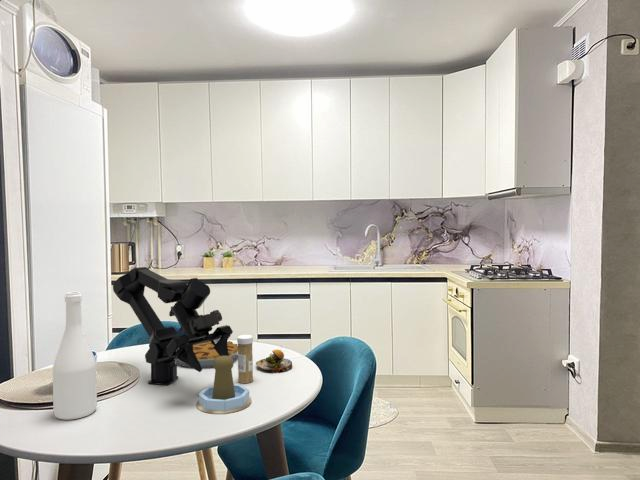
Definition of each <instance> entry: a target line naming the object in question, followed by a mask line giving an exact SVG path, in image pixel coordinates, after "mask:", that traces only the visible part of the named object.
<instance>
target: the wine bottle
mask: <svg viewBox="0 0 640 480" xmlns="http://www.w3.org/2000/svg"><path fill="white" fill-rule="evenodd" d="M82 297H83V296H82V294H81V291H68V292H65V294H64V303H65V328H64V333H63V335H62V339H61V341H60V345H59V348H58V350H57V353H56V356H55V358H54V362H53V366H52V401H53V403H52V404H53V405H52V406H53V409H52V410H53V415H54V417H55V418H56V419H59V420H65V421H66V420H67V421H69V420H71V421H72V420H78V419H81V418H84V417H87V416H90V415H91V414H93V413H94V412H95V411H96V409H97V407H98V399H97V398H98V391H97V389H98V386H97V385H98V383H97V382H98V381H97V380H98V379H97V361H96V358H95V355H94V353H93V351H92V348H91V346H90V343H89V341H88V339H87V335H86V333H85V330H84V327H83V323H82V305H81V304H82V303H81V302H82V301H83V300H82Z"/></svg>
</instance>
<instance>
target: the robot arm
mask: <svg viewBox="0 0 640 480" xmlns="http://www.w3.org/2000/svg"><path fill="white" fill-rule="evenodd" d="M146 287H147V288H148V289H151V290H152V291H153V292H155V293H156V294H157V298H158V299H159V300H160V301H161V302H163V303H164V304H172V303H174V304H173V305H172V306H170V311H169V313H168V316H169V317H175V318H176V320H177V322H178V324H179V326H180V328H179V329H178V331H179V333H183V335H180V334H178V333H177V330H176V329H175V327H173V326H170V327H165V325H164V324H163V322H162V321H161V320H160V318H159V316H158V314H157V313H156V312H155V310H154V309H153V307H152V306H151V303H149V300H147V298H146V297H145V290H146V289H145V288H146ZM112 290H113V293H114V294H115V296H116V297H117V298H118V299H119V300H120V301H121V302H124V303H126V304H128V305H129V306H130V308H131V309H132V311H133V313H134V314H135V316H136V317H137V319H138V321H139V322H140V324H141V325H142V327H143V329H144V330H145V331H146V334H147V335H148V337H149V343H148V344H149V345H148V347H149V348H148V350H147V352H146V353H145V354H144V359H145V362H146V363H147V364H150V380H149V381H148V382H147V383H148V384H149V385H150V384H152V385H165V386H167V385H170V384H171V383H173V382H175V381H176V380H177V379H179V376H178V364H176V360H178V359H179V360H181V361H183V362H185V363H186V364H188V365H189V366H191V367H190V368H191V369H194V370H195V371H197V372H198V373H201V372H203V368H201V365H200V363H199V361H198V359H197V357H196V355H195V353H194V351H193V345H197V344H201V343H205V342H208V341H211V343H212V344H213V345H215V346H214V347H213V348H214V349H215V350H216V352H217V353H218V354H219V355H220V356H229V354H228V347H227V342H228V341H229V338H231V336H232V334H233V333H234V331H233V329H232V327H231V326H230V325H227V324H226V325H221V326H218V325H220V322H221V321H222V320H223V316H222V313H221V312H220V311H219V309H216V310H215V309H214V310H213V311H210V312H209V313H206V314H199V312H198V311H197V310H198V309H200V308H201V307H202V305H203V304H204V303H205V302H206V300H207V298H209V296H210V294H211V288H210V287H209V285H208V284H206V283H205V282H204V281H201V280H199V279H198V278H197V277H193V278H190V279H189V281H188V283H187V282H185V281H183V280H178V279H168V278H166V277H165V276H162V275H160V274H158V273H157V272H154V271H153V270H150V269H149V267H146V266H142V267H134V268H131V269H130V270H129V272H127V273H124V274H123V275H121V276H119V277H118V278H117V279H116V280H115V282H113V284H112ZM216 325H217V327H216V328H215V330H214V331H213V332H211V331H212V330H213V327H214V326H216ZM210 332H211V333H210Z"/></svg>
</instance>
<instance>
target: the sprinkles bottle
mask: <svg viewBox="0 0 640 480" xmlns="http://www.w3.org/2000/svg"><path fill="white" fill-rule="evenodd" d="M236 340H237V341H236V342H237V343H236V344H237V345H238V353H237V371H238V372H237V373H238V374H237V375H238V377H237V378H238V379H237V382H238V383H240V384H248V383H252V382H253V381H254V375H253V373H254V372H253V371H254V366H253V365H254V363H253V362H254V361H253V343H254V336H253V335H251V334H240V335H239V336H237V337H236Z"/></svg>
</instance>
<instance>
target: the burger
mask: <svg viewBox="0 0 640 480" xmlns="http://www.w3.org/2000/svg"><path fill="white" fill-rule="evenodd" d="M282 347H283V346H281V347H280V348H281V349H282ZM281 349H273V350H272V353H270V354H269V356H268V357H266V358H263V359H259V360H258V361H256V362H255V365H256V366H257V367H258V368H259V369H262V370H266V371H271V373H272V374H279V373H280V371H281V370H282V372H284V373H285V372H288V371H289V370H290V369H291V370H292V368H293V362H292V361H291V360H290V359H288V358H285V354H284V352H283V351H282V350H281Z"/></svg>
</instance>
